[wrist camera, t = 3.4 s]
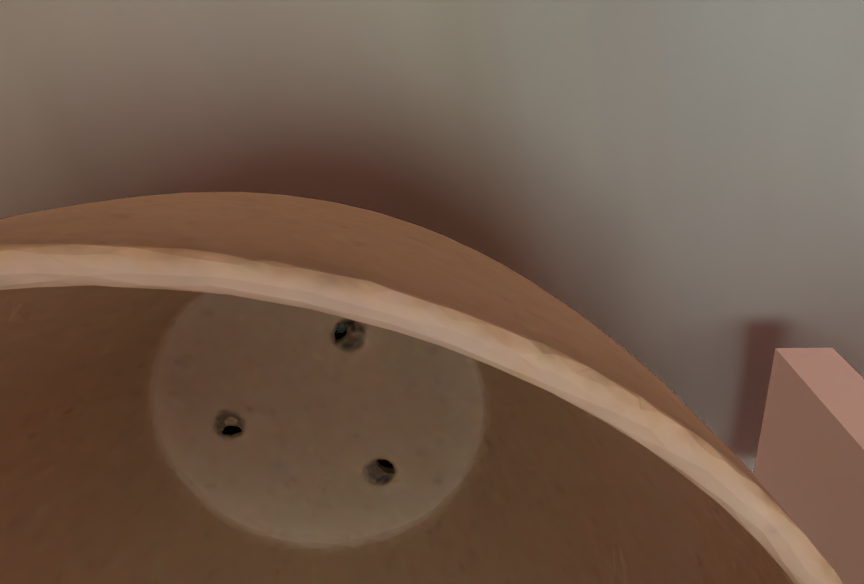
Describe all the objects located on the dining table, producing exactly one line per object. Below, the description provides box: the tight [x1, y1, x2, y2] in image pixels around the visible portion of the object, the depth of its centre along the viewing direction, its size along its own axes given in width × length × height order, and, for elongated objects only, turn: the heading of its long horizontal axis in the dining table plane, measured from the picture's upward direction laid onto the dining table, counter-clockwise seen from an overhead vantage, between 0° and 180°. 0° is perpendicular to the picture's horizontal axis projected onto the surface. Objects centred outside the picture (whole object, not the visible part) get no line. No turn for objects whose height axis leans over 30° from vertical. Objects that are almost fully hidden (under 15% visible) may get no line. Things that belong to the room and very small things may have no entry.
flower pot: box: [0, 192, 843, 584], centre depth 9 cm, size 10×10×7 cm
